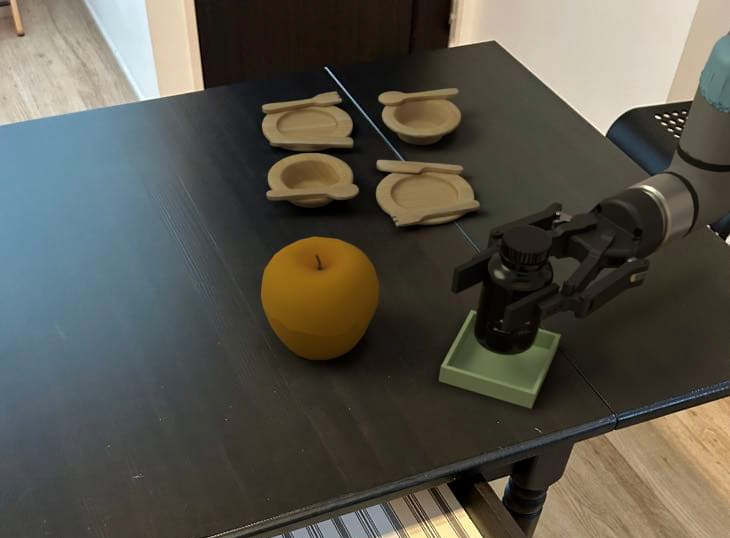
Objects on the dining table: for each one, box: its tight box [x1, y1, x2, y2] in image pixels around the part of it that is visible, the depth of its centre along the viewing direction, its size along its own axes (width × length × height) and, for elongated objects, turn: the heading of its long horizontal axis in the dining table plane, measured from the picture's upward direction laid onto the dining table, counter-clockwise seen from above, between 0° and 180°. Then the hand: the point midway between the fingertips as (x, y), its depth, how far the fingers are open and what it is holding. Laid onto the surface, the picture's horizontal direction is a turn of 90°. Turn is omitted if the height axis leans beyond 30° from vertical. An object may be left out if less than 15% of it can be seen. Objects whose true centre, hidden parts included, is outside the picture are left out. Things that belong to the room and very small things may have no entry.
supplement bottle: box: [473, 225, 555, 355], centre depth 84 cm, size 7×7×12 cm
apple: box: [260, 236, 381, 361], centre depth 90 cm, size 13×13×11 cm
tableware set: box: [261, 87, 481, 228], centre depth 116 cm, size 35×29×4 cm
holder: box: [438, 309, 562, 410], centre depth 91 cm, size 10×10×2 cm
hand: (480, 300), depth 81 cm, fingers closed on supplement bottle, 7 cm apart
